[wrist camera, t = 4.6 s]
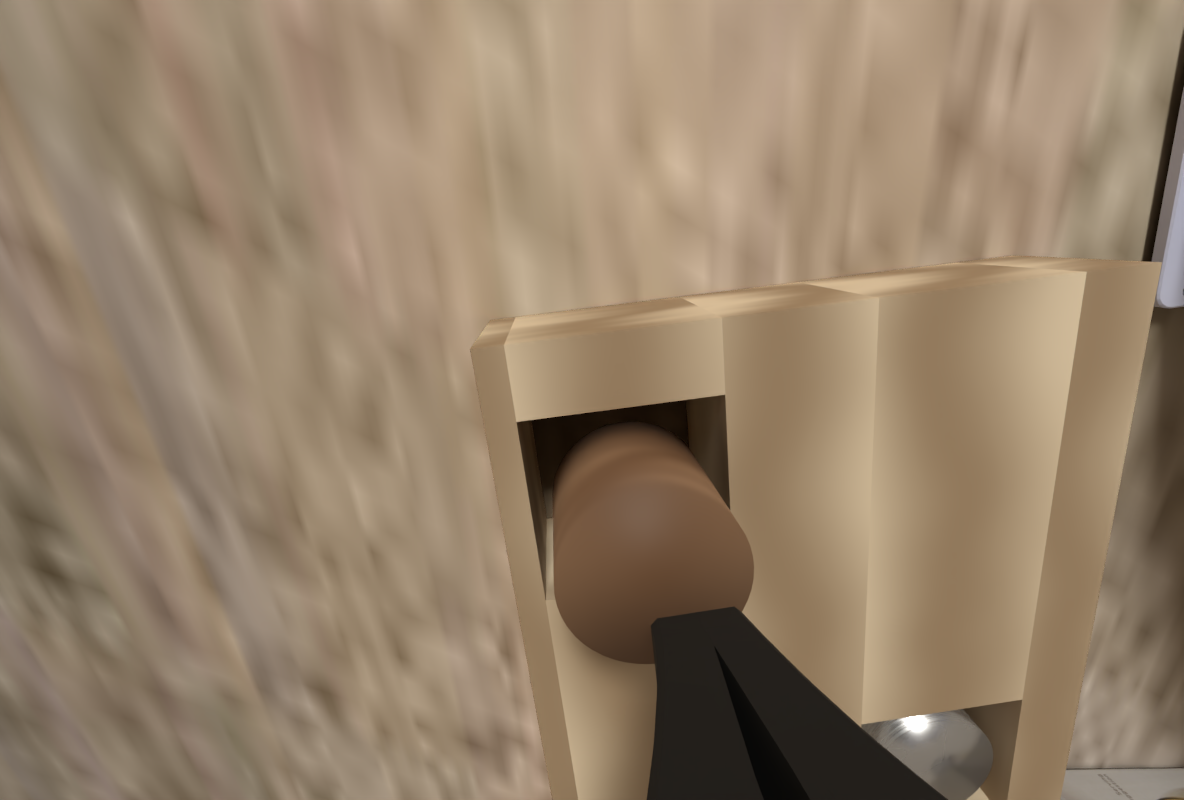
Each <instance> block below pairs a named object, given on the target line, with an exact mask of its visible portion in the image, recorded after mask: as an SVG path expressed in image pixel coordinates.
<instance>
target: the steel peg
mask: <svg viewBox="0 0 1184 800" xmlns="http://www.w3.org/2000/svg"><path fill="white" fill-rule="evenodd" d="M861 728H862V729H863V730H865V731H866V732H867V733H868V734H869V735H870V736H871V737H873V738H874V739H875V740H876V741H877V742H878V743H880V744H881V745H882V746H883V747H884V748H886V749H887V750H888V751H889V752H890V753H892V754H893V755H894V756H895V757H896V758H898V759H899V760H900V761H901V762H902V763H904V764H905V765H906V766H907V767H908V768H910V769H911V770H912V771H913V772H914V773H916V774H917V775H918V776H919V777H921V778H922V779H923V780H924V781H926V782H927V783H928V784H929V785H930V786H932V787H933V788H934V789H935V790H937V791H938V792H939V793H941V794H942V795H943V796H944V797H946V798H947V799H948V800H966V799H967V798H969V797H970V796H971V795H973V794H974V793H975V792H976V791H977V790H978V789H979V788H980V786H981V785H982V784H983V783H984V781H985V780H986V778H987V776H988V774H989V772H990V770H991V767H992V763H993V748H992V745H991V743H990V741H989V739H988V737H987V736H986V735H985V734H984V733H983V731H982V730H981V729H980V728H979V727H978V726H977V725H976V723H975V722H974V721H973V720H972V719H971V718H970V716H969V715H968V714H967V713H966V712H965V711H964V710H963V709H958V710H952V711H945V712H939V713H932V714H926V715H919V716H913V717H907V718H900V719H894V720H887V721H881V722H874V723H868V724H862V725H861Z"/></svg>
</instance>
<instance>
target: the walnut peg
mask: <svg viewBox="0 0 1184 800" xmlns="http://www.w3.org/2000/svg"><path fill="white" fill-rule="evenodd" d="M553 572H554V595H555V600H556V604H557V608H558V610H559V612H560V615H561V617H562V619H563V621H564V622H565V624H566V626H567V627H568V628H569V630H570V631H571V632H572V633H573V635H574V636H575V637H576V638H577V639H579V640H580V641H581V642H582V643H583V644H584V645H586V646H587V647H589V648H590V649H592V650H593V651H595V652H597V653H599V654H601V655H603V656H606V657H608V658H611V659H614V660H618V661H622V662H626V663H634V664H655V662H654V652H653V643H652V634H651V625H652V624H653V622H654V621H655V620H656V619H657V618H662V617H669V616H675V615H682V614H688V613H695V612H701V611H708V610H714V609H721V608H727V607H734V606H735V607H736V608H737V609H738V610H740V611H741V612H742V611H743V609H744V607H745V605H746V603H747V601H748V598H749V595H750V593H751V590H752V584H753V579H754V561H753V554H752V550H751V547H750V544H749V541H748V539H747V537H746V535H745V533H744V531H743V530H742V528H741V527H740V525H739V524H738V522H737V520H736V519H735V517H734V516H733V514H732V513H731V511H730V510H729V508H728V507H727V505H726V504H725V502H724V500H723V499H722V497H721V496H720V494H719V493H718V491H717V490H716V488H715V487H714V485H713V484H712V482H711V480H710V479H709V477H708V476H707V474H706V473H705V471H704V470H703V468H702V467H701V465H700V464H699V462H698V460H697V459H696V457H695V456H694V454H693V453H692V451H691V450H690V449H689V447H688V446H687V445H686V444H685V443H684V442H683V441H682V440H681V439H680V438H679V437H677V436H676V435H674V434H673V433H671V432H670V431H668V430H666V429H664V428H662V427H659V426H656V425H653V424H649V423H644V422H620V423H615V424H610V425H607V426H604V427H601V428H599V429H597V430H595V431H592V432H591V433H589V434H588V435H586V436H584V437H583V438H582V439H580V440H579V441H578V442H577V443H576V444H575V445H574V446H573V447H572V448H571V449H570V450H569V451H568V453H567V454H566V455H565V457H564V458H563V460H562V462H561V464H560V465H559V467H558V470H557V473H556V476H555V480H554V485H553Z"/></svg>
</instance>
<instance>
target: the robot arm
mask: <svg viewBox="0 0 1184 800" xmlns="http://www.w3.org/2000/svg"><path fill="white" fill-rule="evenodd" d="M1151 262H1162V265H1161V270H1160V276H1159V281H1158V286H1157V291H1156V297H1155V302H1154V307H1160V308H1177V307H1184V291H1183V289H1184V87H1183V92H1182V98H1181V103H1180V109H1179V114H1178V120H1177V125H1176V131H1175V136H1174V141H1173V147H1172V152H1171V158H1170V163H1169V169H1168V174H1167V180H1166V185H1165V190H1164V196H1163V201H1162V207H1161V212H1160V218H1159V223H1158V229H1157V234H1156V239H1155V245H1154V250H1153V256H1152V261H1151ZM651 634H652V643H653V652H654V662H655V671H656V680H657V700H656V716H655V733H654V745H653V754H652V762H651V770H650V777H649V785H648V793H647V800H948V799H947V798H946V797H944V796H943V795H942V794H941V793H939V792H938V791H937V790H935V789H934V788H933V787H932V786H930V785H929V784H928V783H927V782H926V781H924V780H923V779H922V778H921V777H919V776H918V775H917V774H916V773H914V772H913V771H912V770H911V769H910V768H908V767H907V766H906V765H905V764H904V763H902V762H901V761H900V760H899V759H898V758H896V757H895V756H894V755H893V754H892V753H890V752H889V751H888V750H887V749H886V748H884V747H883V746H882V745H881V744H880V743H878V742H877V741H876V740H875V739H874V738H873V737H871V736H870V735H869V734H868V733H867V732H866V731H865V730H863V729H862V728H861V727H860V726H859V725H858V724H857V723H855V722H854V721H853V720H852V719H851V718H850V717H849V716H848V715H847V714H845V713H844V712H843V711H842V710H841V709H840V708H839V707H838V706H837V705H836V704H835V703H833V702H832V701H831V700H830V699H829V698H828V697H827V696H826V695H825V694H824V693H823V692H821V691H820V690H819V689H818V688H817V687H816V686H815V685H814V684H813V683H812V682H811V681H810V680H809V679H808V678H806V677H805V676H804V675H803V674H802V673H801V672H800V671H799V670H798V669H797V668H796V667H795V666H794V665H793V664H792V663H791V662H790V661H789V660H788V659H787V658H786V657H785V656H784V655H783V654H782V653H781V652H780V651H779V650H778V649H777V648H776V647H775V646H774V645H773V644H772V643H771V642H770V641H769V640H768V639H767V638H766V637H765V636H764V635H763V634H762V633H761V632H760V631H759V630H758V629H757V628H756V627H755V626H754V624H753V623H752V622H751V621H750V620H749V619H748V618H747V617H746V616H745V615H744V614H743V613H742V612H741V611H740V610H738V609H737V608H736V607H735V606H734V607H727V608H721V609H714V610H708V611H701V612H695V613H688V614H682V615H675V616H669V617H662V618H657V619H656V620H655V621H654V622H653V624H652V625H651Z"/></svg>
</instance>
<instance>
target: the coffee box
mask: <svg viewBox="0 0 1184 800" xmlns="http://www.w3.org/2000/svg"><path fill="white" fill-rule="evenodd" d="M1060 800H1184V768H1154V769H1074V770H1066V772H1065V777H1064V782H1063V788H1062V793H1061V798H1060Z"/></svg>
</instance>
